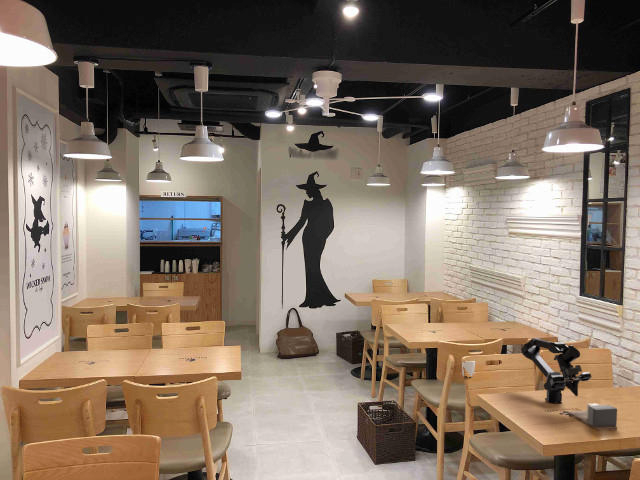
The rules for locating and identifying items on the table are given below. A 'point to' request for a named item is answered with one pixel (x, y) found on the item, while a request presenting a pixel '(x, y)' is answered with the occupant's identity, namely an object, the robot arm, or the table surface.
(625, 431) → the table surface
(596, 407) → the socket housing
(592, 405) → the plug
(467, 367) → the white cup
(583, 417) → the board
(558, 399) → the robot arm
